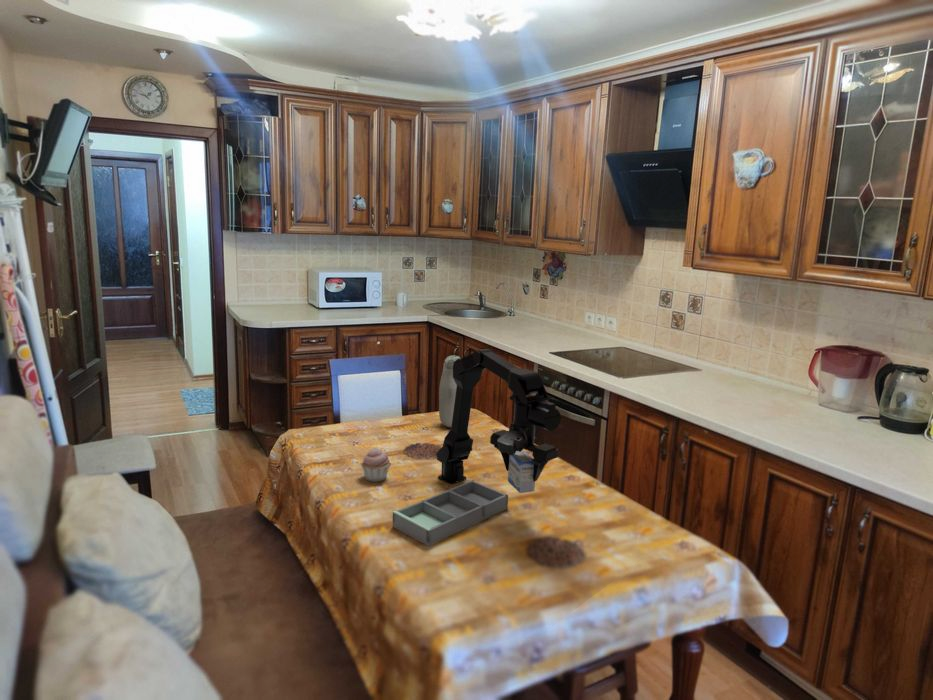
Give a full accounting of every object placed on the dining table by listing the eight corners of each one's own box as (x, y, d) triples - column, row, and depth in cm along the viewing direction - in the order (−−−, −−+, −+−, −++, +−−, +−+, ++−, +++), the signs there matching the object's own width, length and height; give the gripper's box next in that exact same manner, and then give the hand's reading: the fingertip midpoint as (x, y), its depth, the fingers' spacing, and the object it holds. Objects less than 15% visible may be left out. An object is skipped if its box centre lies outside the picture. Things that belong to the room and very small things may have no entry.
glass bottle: (438, 422, 247) (439, 352, 242) (464, 422, 248) (466, 353, 242) (438, 430, 238) (440, 358, 232) (465, 430, 239) (468, 358, 233)
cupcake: (396, 475, 195) (397, 445, 193) (380, 486, 187) (380, 455, 185) (371, 469, 199) (371, 440, 197) (354, 480, 191) (354, 449, 189)
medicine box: (507, 481, 171) (508, 451, 169) (522, 479, 173) (523, 450, 171) (519, 493, 164) (521, 462, 162) (535, 491, 165) (536, 460, 164)
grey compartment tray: (392, 526, 163) (392, 511, 163) (472, 492, 185) (472, 479, 184) (428, 546, 154) (428, 530, 153) (507, 508, 176) (508, 494, 175)
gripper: (477, 417, 165) (475, 473, 168) (534, 436, 152) (530, 495, 156) (504, 409, 173) (502, 462, 176) (561, 426, 160) (557, 483, 164)
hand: (521, 475), depth 168 cm, fingers closed on medicine box, 9 cm apart
